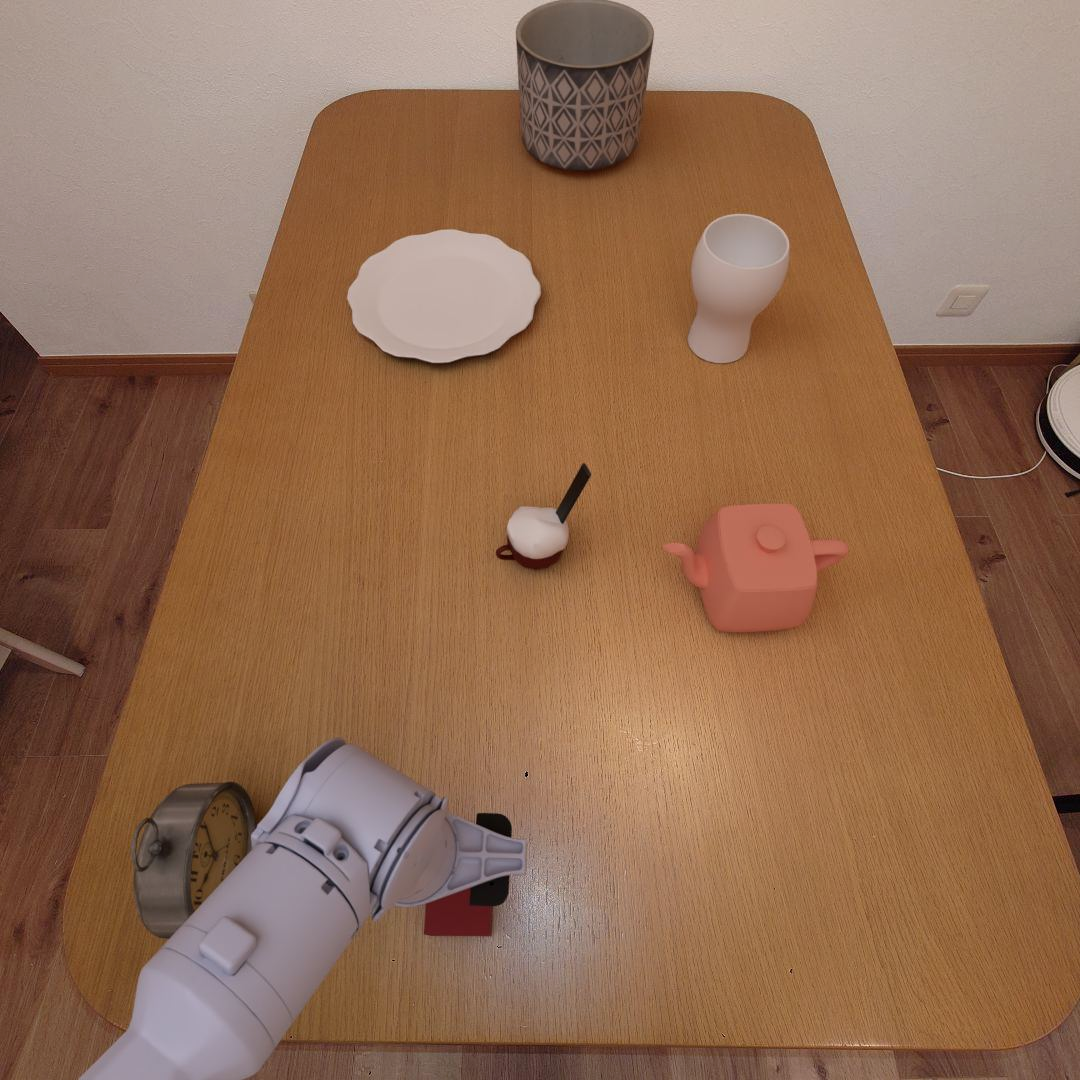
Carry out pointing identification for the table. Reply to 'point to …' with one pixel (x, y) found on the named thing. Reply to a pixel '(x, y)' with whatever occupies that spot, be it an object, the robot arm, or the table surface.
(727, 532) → the teapot
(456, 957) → the table surface
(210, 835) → the alarm clock
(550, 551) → the cocoa
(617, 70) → the planter
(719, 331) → the cup
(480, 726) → the table surface
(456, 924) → the red cube
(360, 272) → the plate
